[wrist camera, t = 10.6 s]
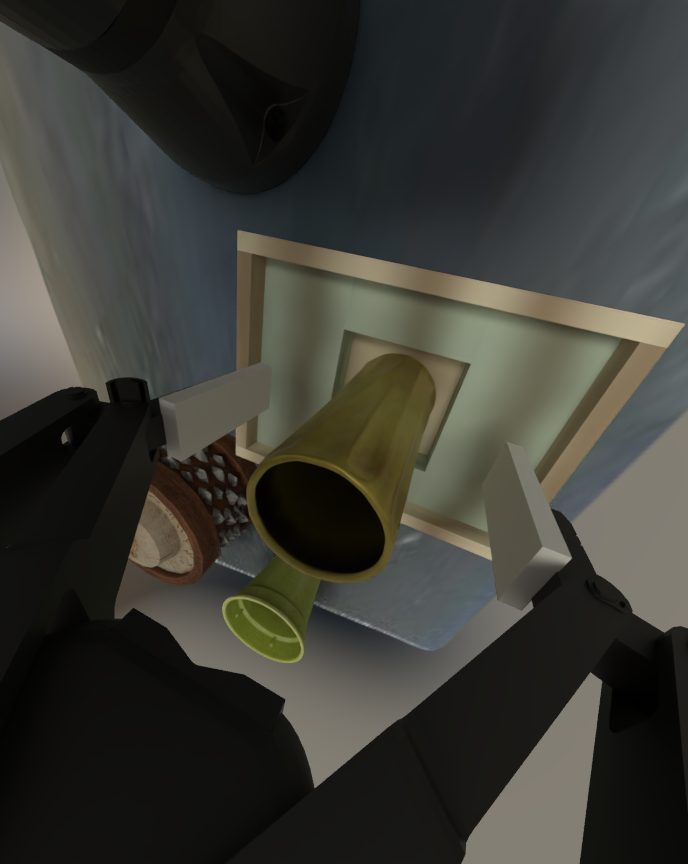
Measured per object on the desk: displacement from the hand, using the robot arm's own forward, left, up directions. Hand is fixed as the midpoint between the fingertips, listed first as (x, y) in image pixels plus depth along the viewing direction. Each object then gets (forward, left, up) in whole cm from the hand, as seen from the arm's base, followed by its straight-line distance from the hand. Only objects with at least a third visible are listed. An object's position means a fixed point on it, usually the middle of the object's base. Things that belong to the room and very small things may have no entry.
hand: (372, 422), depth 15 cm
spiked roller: (-18, -17, -8) cm, 26 cm away
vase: (0, 0, -7) cm, 7 cm away
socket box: (0, 0, -8) cm, 8 cm away
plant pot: (-5, -25, -8) cm, 27 cm away
